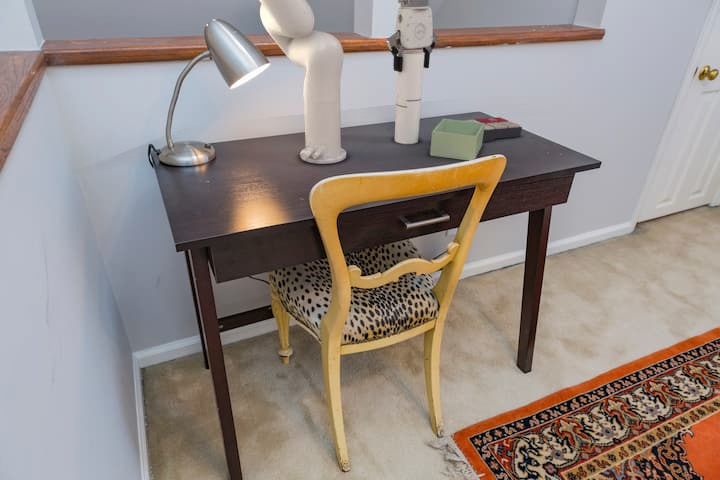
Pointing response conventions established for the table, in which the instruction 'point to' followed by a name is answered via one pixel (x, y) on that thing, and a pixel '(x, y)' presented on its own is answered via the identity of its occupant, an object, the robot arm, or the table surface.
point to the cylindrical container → (409, 97)
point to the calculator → (498, 128)
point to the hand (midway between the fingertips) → (411, 69)
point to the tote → (457, 139)
